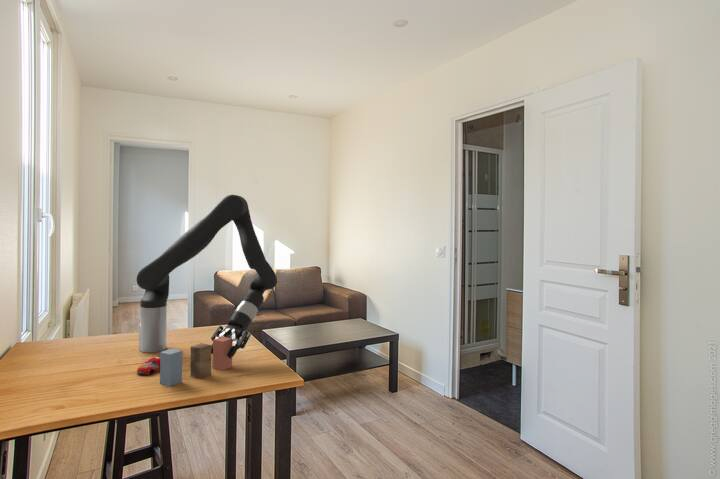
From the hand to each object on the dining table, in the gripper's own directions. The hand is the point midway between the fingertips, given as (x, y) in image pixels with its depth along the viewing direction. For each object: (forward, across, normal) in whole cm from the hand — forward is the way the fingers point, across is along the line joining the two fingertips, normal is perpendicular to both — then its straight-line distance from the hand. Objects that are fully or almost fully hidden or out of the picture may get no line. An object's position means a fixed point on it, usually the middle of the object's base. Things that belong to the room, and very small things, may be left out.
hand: (219, 355), depth 146 cm
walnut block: (+9, 0, -2) cm, 9 cm away
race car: (+12, -18, -5) cm, 22 cm away
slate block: (+15, -3, -9) cm, 18 cm away
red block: (+2, 0, +4) cm, 5 cm away
